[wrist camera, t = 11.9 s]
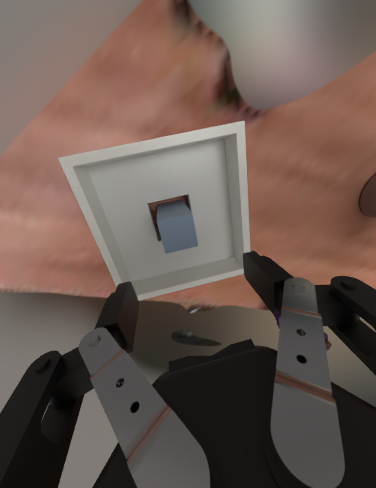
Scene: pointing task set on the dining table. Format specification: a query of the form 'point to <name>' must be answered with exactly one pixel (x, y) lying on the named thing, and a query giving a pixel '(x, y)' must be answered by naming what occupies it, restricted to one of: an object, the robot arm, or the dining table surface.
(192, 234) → the peg
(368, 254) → the dining table surface
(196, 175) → the walled box
